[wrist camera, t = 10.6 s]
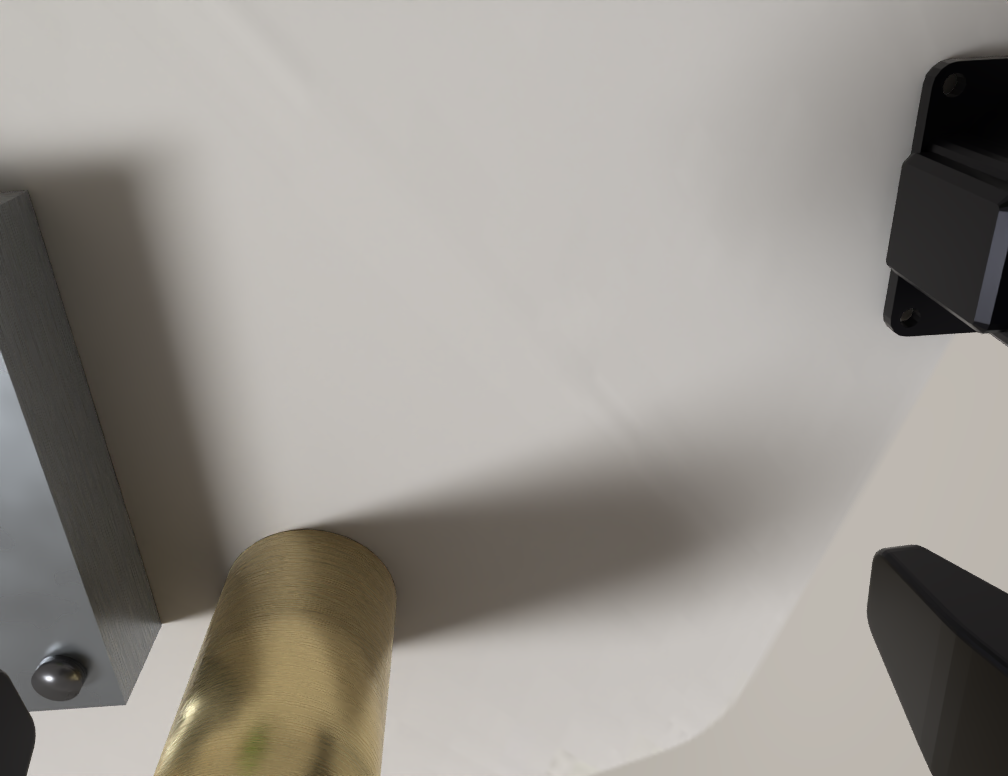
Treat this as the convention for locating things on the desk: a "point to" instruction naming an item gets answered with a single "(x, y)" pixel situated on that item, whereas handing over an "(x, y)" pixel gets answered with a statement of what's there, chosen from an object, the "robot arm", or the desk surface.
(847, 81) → the desk surface
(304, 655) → the cylinder
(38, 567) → the housing
